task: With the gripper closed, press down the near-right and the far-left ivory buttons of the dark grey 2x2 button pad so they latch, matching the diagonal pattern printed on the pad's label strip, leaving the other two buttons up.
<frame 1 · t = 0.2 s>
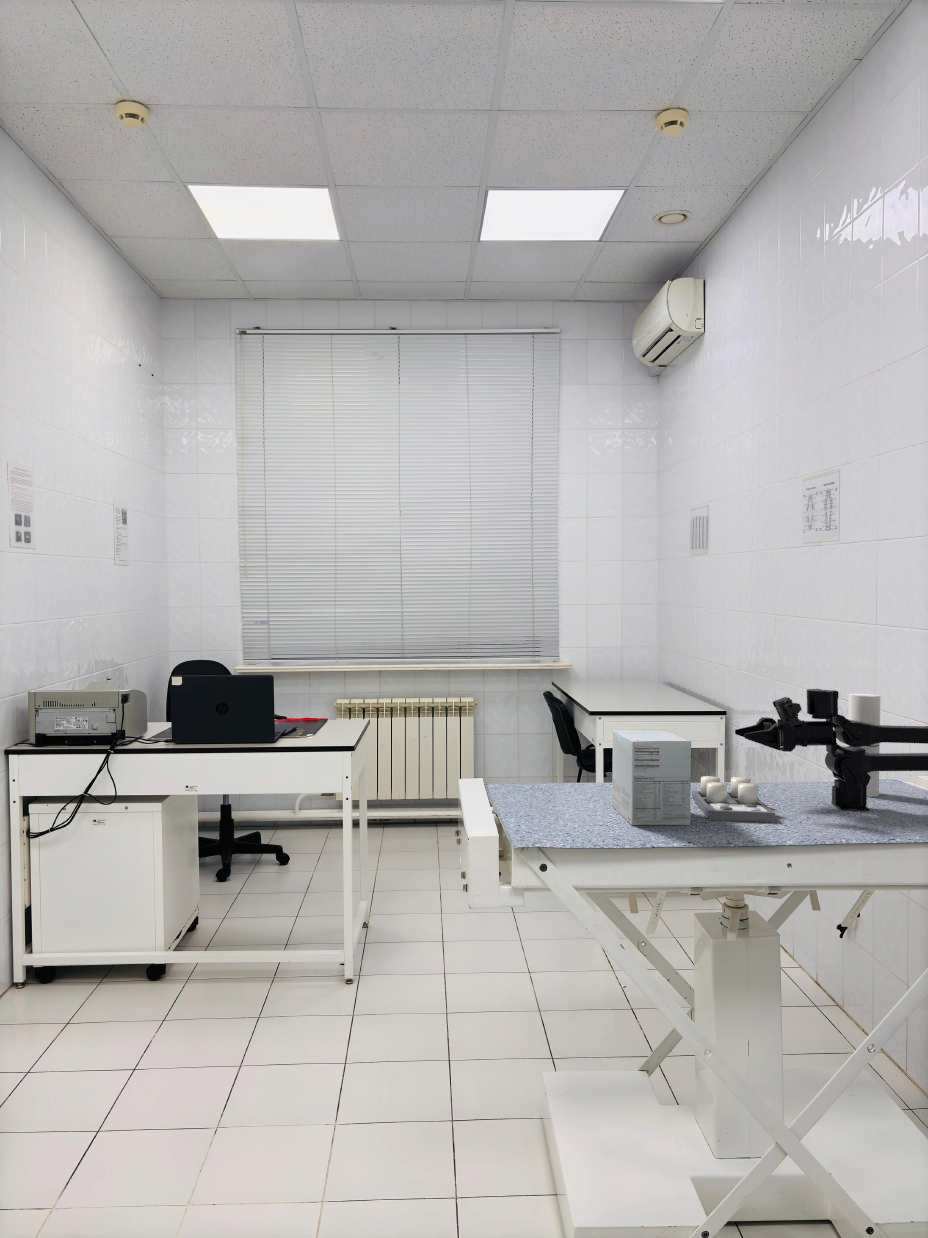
hand: (739, 734, 191), 17 cm above the table, tool horizontal, fingers open, 9 cm apart
supplement box: (649, 817, 180), on the table
button far right: (710, 786, 192), point 4 cm above the table, slide at 0.0 cm
button far left: (716, 793, 185), point 4 cm above the table, slide at 0.0 cm
button board: (731, 810, 186), on the table
button near left: (748, 794, 185), point 4 cm above the table, slide at 0.0 cm
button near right: (740, 787, 192), point 4 cm above the table, slide at 0.0 cm
cylindrical container: (863, 794, 204), on the table
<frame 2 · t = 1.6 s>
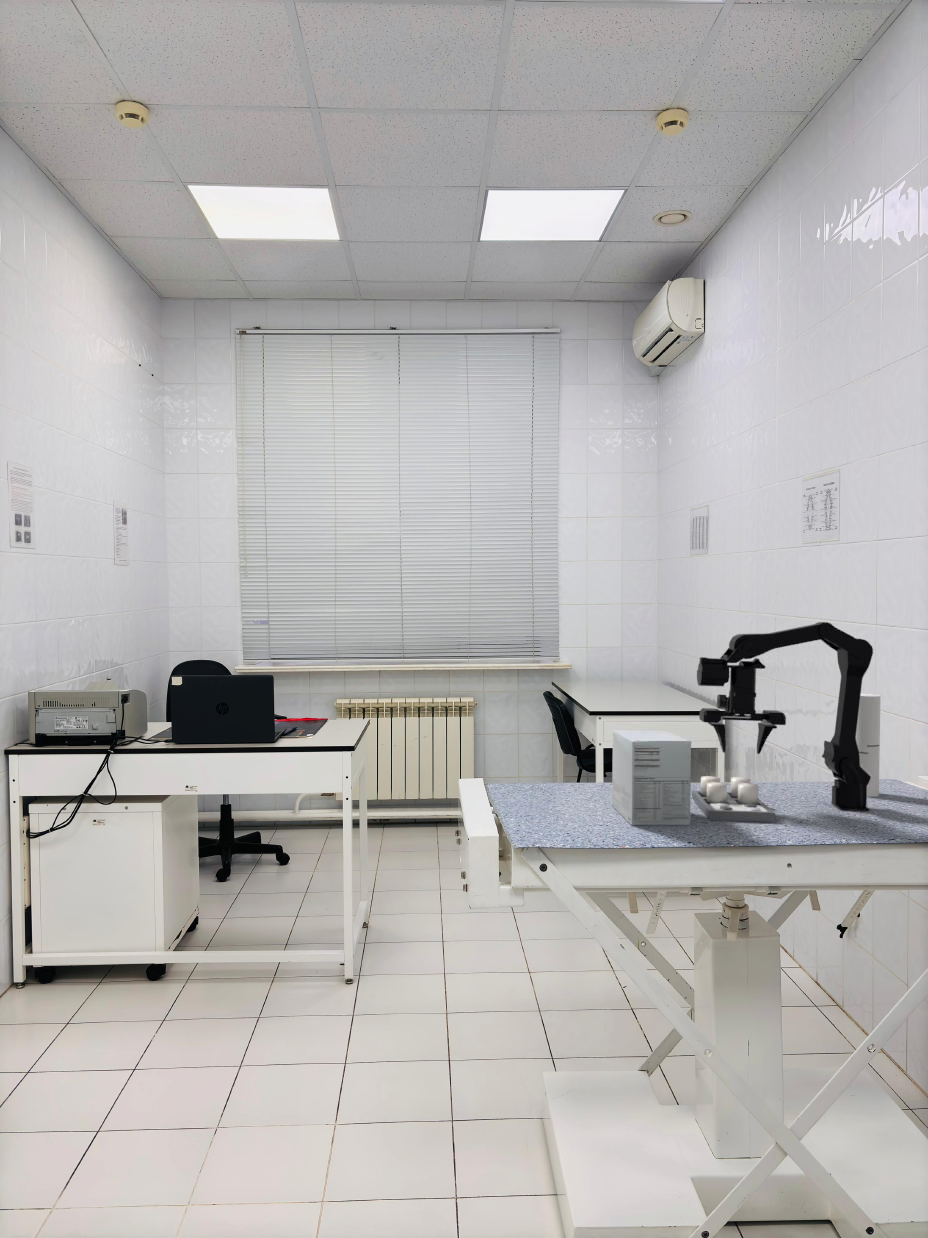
hand: (741, 753, 191), 12 cm above the table, tool pointing down, fingers open, 8 cm apart
nothing on the table moved.
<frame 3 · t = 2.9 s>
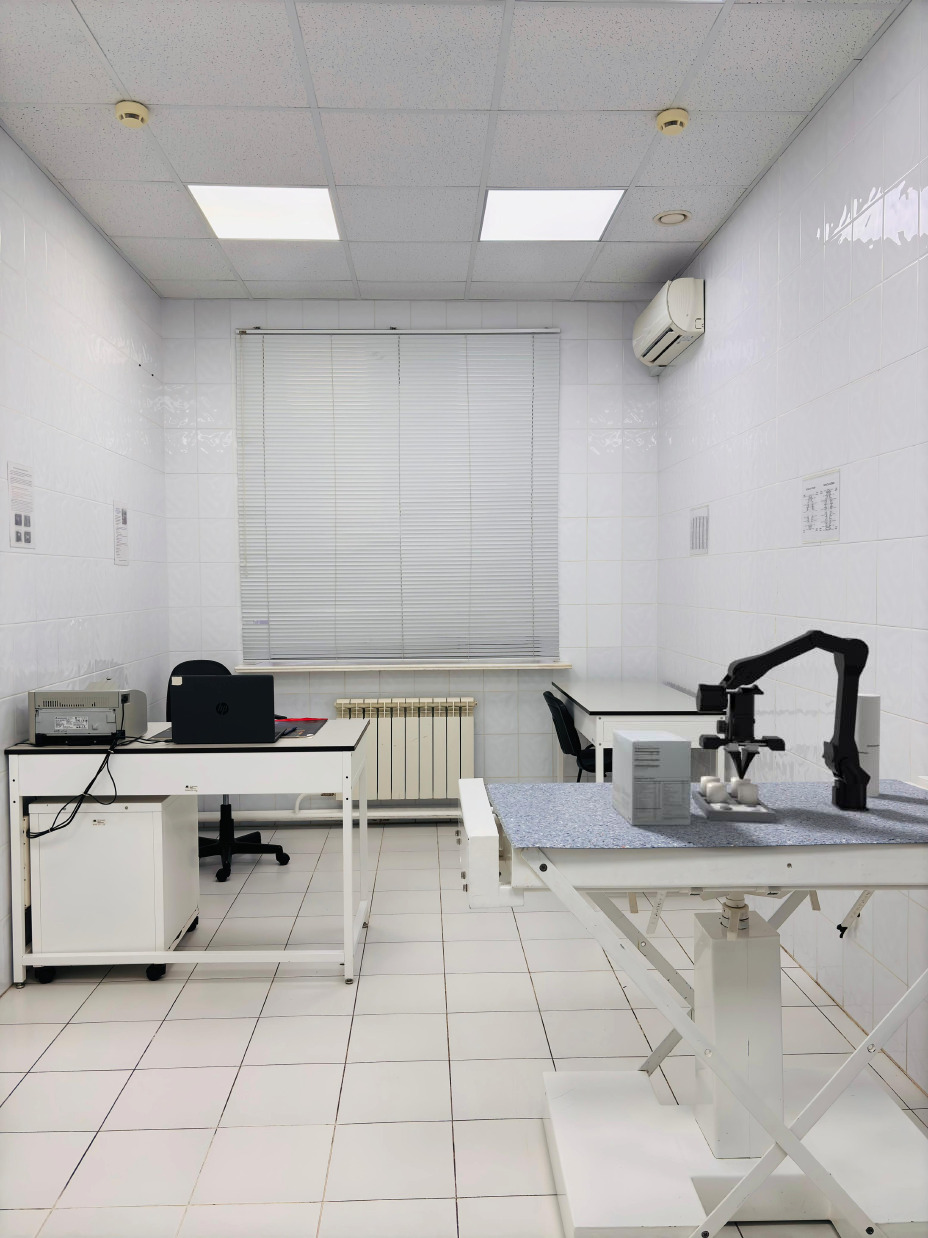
hand: (740, 779, 191), 6 cm above the table, tool pointing down, fingers closed, pressing on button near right
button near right: (740, 787, 192), point 4 cm above the table, slide at 0.0 cm, touching gripper
everything else where it was.
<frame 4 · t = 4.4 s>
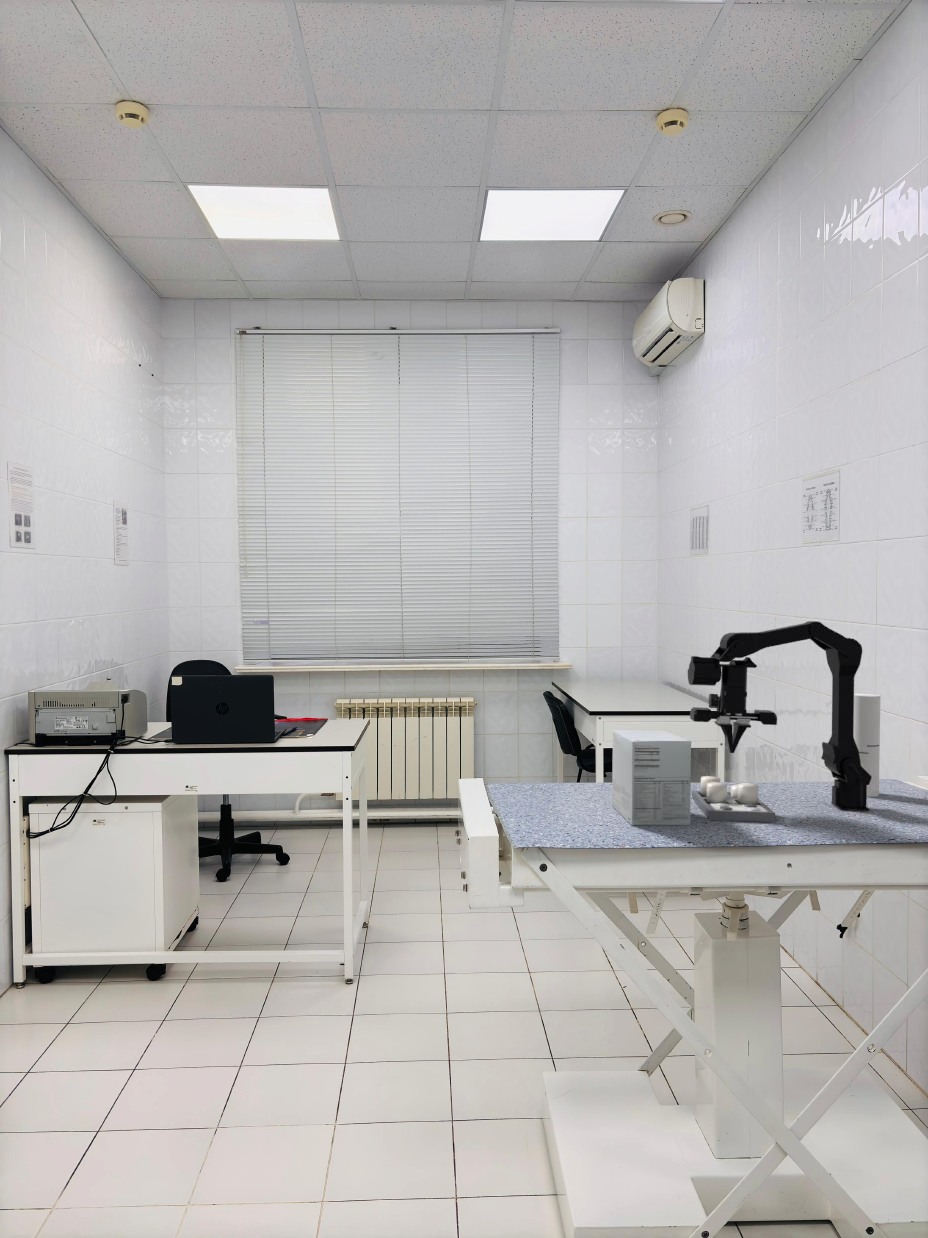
hand: (731, 752, 190), 13 cm above the table, tool pointing down, fingers closed
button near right: (740, 795, 192), point 2 cm above the table, slide at 1.9 cm
everything else where it was.
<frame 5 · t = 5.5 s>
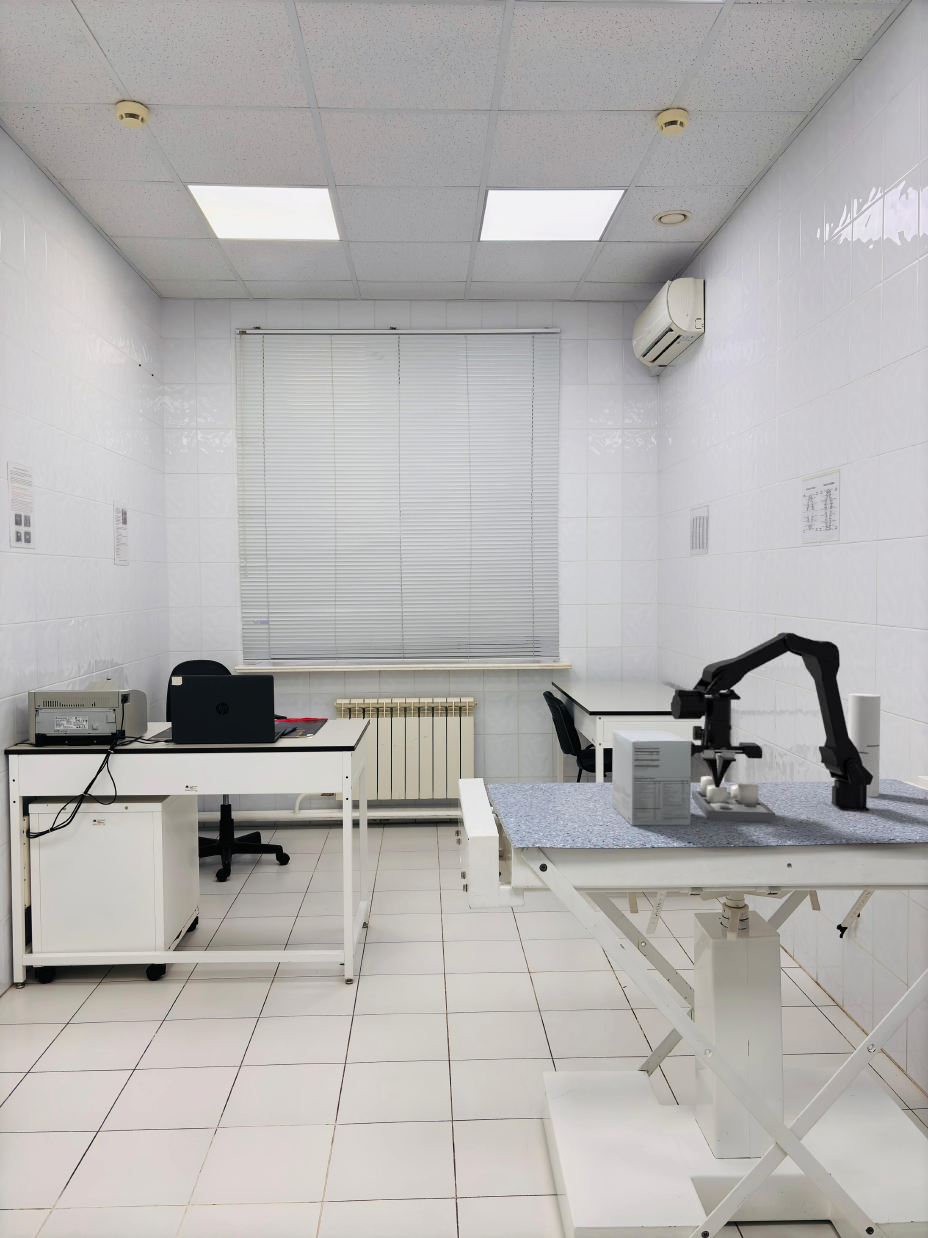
hand: (716, 787, 185), 5 cm above the table, tool pointing down, fingers closed, pressing on button far left
button far left: (716, 795, 185), point 3 cm above the table, slide at 0.6 cm, touching gripper
everything else where it was.
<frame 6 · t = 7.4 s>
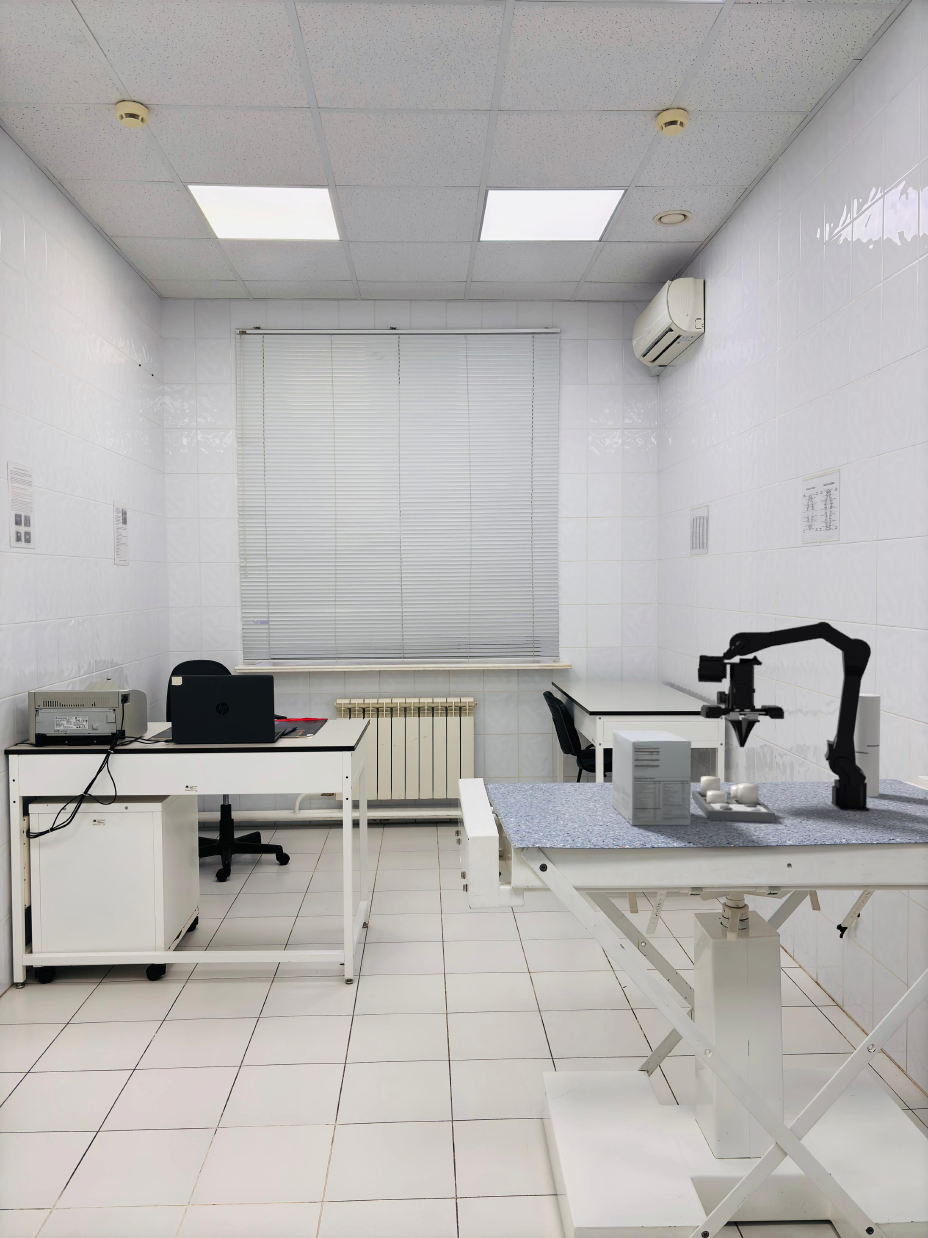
hand: (741, 747, 198), 12 cm above the table, tool pointing down, fingers closed
button far left: (716, 801, 185), point 2 cm above the table, slide at 1.9 cm
everything else where it was.
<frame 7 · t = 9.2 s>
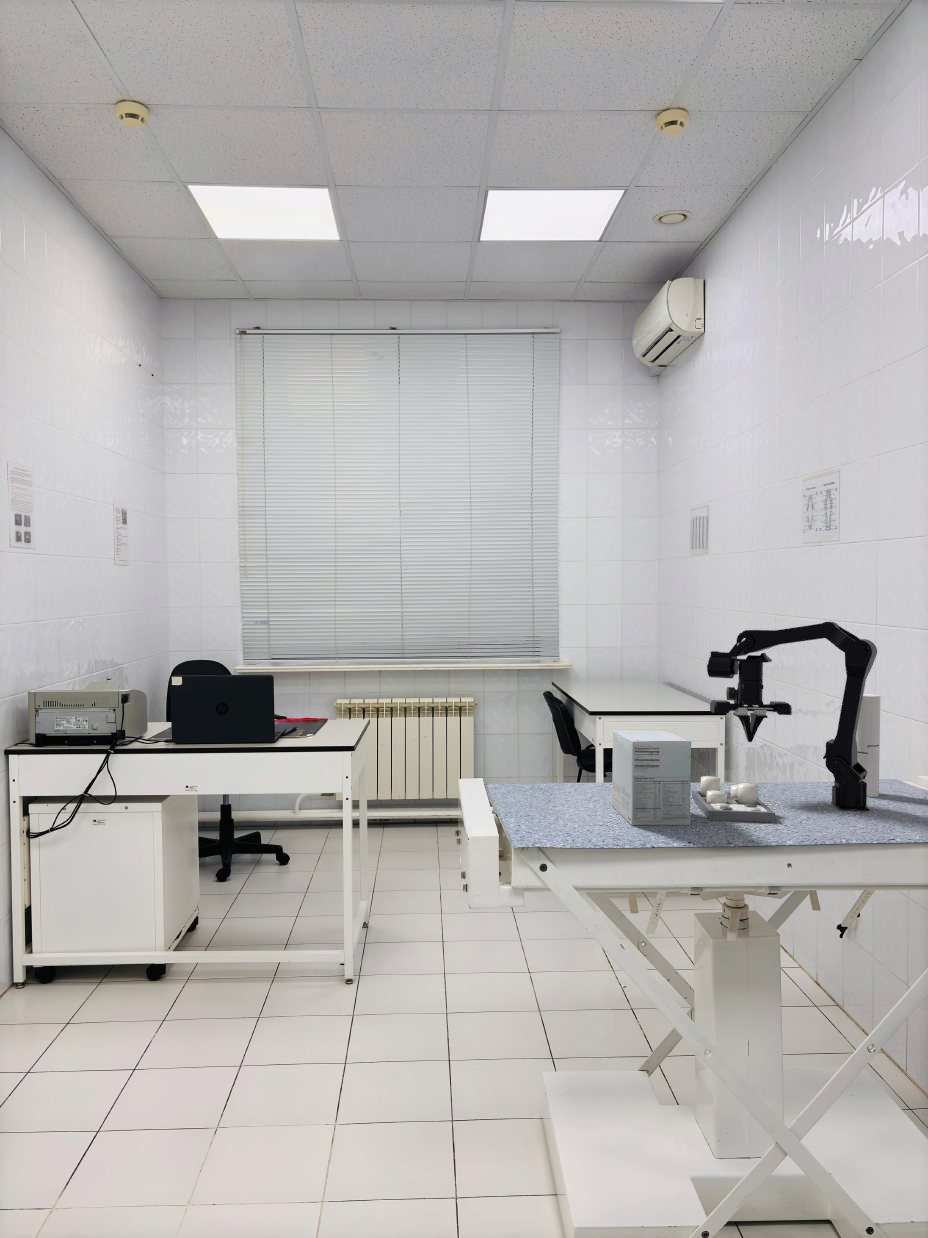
hand: (749, 741, 203), 13 cm above the table, tool pointing down, fingers closed
nothing on the table moved.
at the end: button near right slide at 1.9 cm; button far left slide at 1.9 cm; button far right slide at 0.0 cm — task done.
